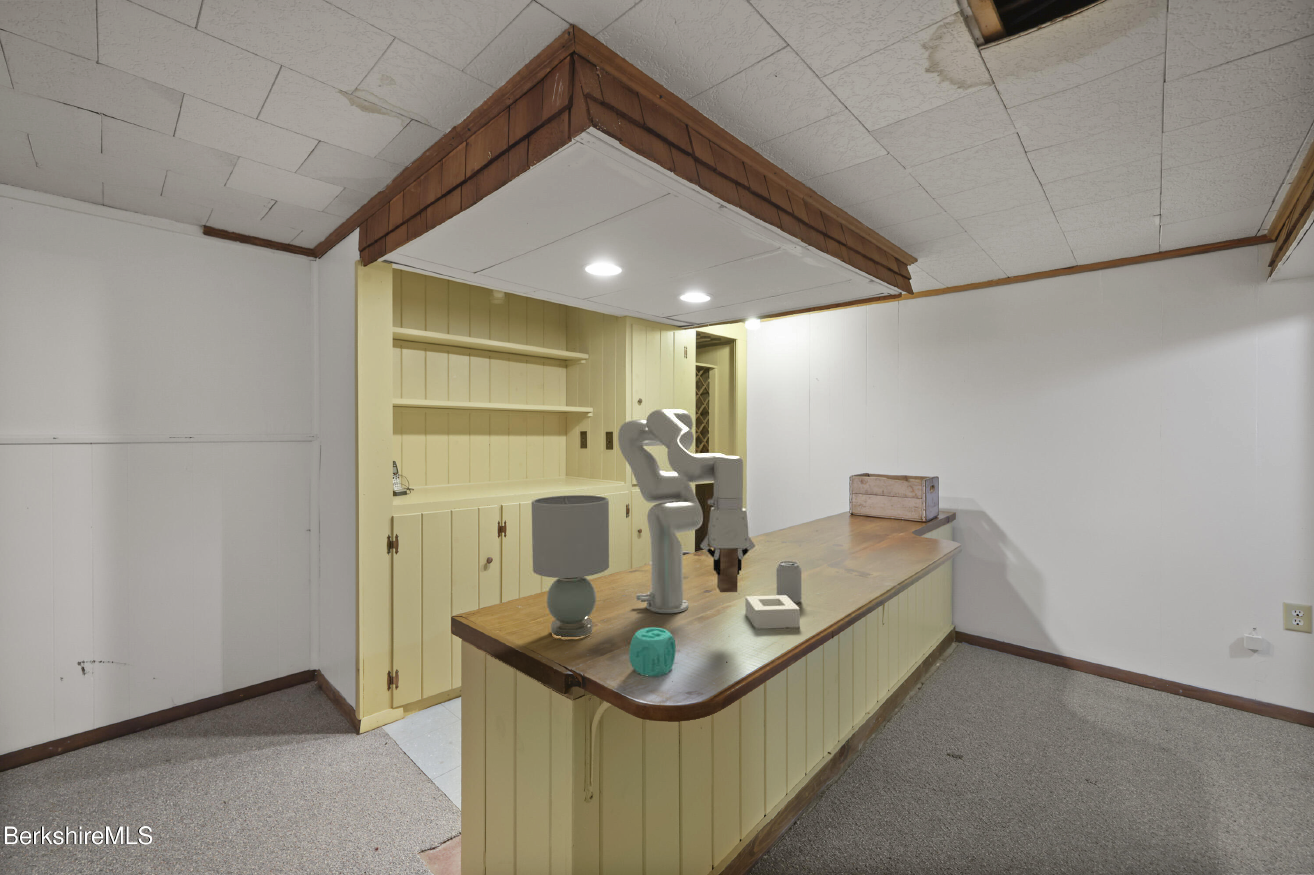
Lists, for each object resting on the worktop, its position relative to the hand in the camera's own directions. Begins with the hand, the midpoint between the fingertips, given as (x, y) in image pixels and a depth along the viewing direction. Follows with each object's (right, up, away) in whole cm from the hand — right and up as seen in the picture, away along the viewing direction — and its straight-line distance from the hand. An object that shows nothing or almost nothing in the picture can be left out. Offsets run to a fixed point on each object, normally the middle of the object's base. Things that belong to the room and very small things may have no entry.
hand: (727, 572), depth 143 cm
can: (+23, -16, +27) cm, 39 cm away
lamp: (-41, -17, +3) cm, 44 cm away
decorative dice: (-19, -17, -20) cm, 32 cm away
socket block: (+14, -16, +11) cm, 24 cm away
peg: (0, -4, 0) cm, 4 cm away
